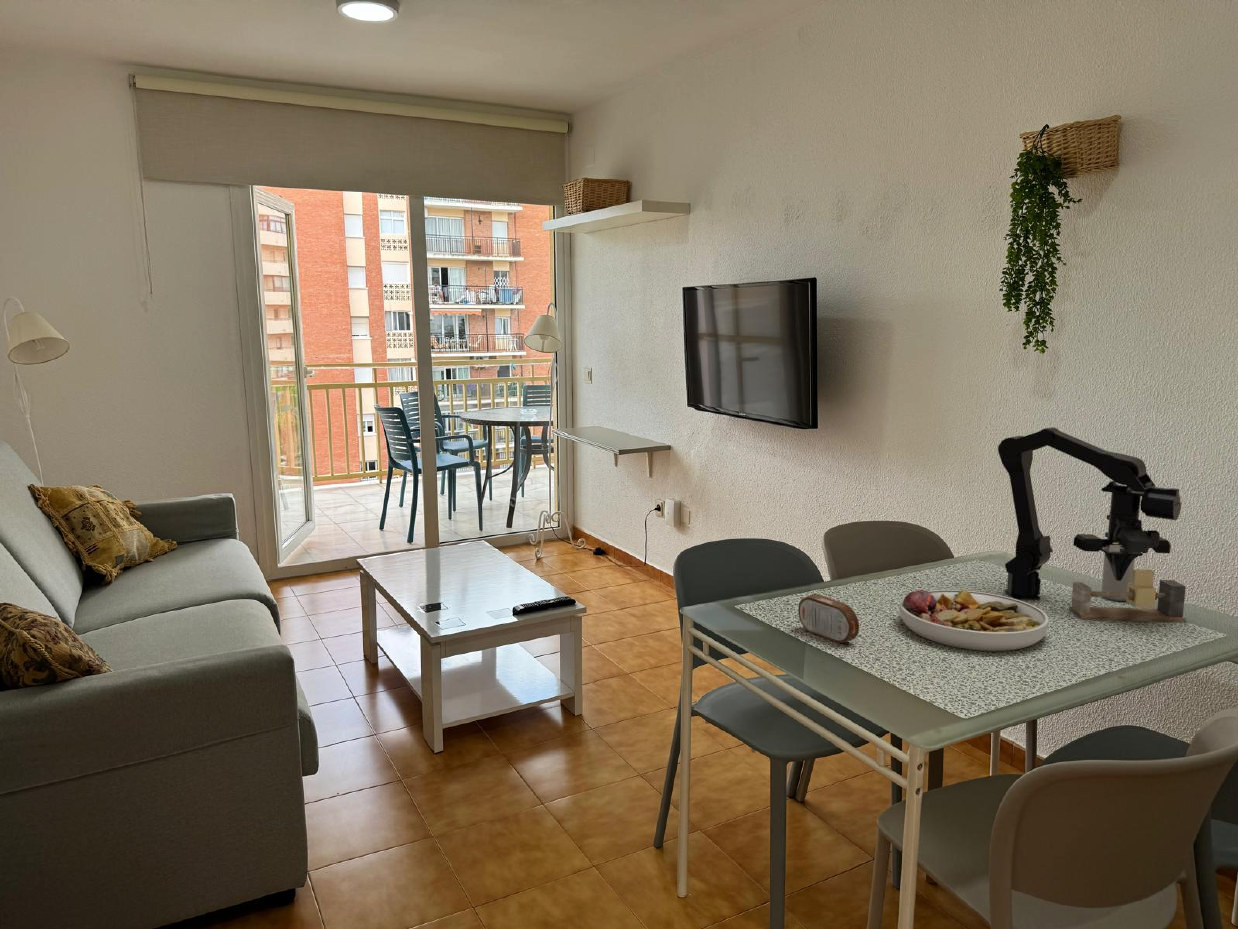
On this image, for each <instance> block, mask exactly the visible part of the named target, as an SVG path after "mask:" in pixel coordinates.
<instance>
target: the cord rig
mask: <svg viewBox="0 0 1238 929" xmlns="http://www.w3.org/2000/svg"><path fill="white" fill-rule="evenodd" d="M1092 589H1093V588H1092V587H1090V586H1089V585H1087V584H1086V583H1084V582H1082V581H1073V582H1072V591H1071V592H1072V593H1071V594H1072V595H1071V606H1069V607H1068V609H1069V611H1070V612H1071V613H1072V614H1074V615H1075V616H1077V618H1080V619H1081V620H1082V621H1083V620H1086V621H1087V620H1089V621H1090V620H1091V621H1117V622H1120V621H1121V622H1123V621H1125V622H1129V621H1130V622H1158V623H1159V622H1161V623H1162V622H1164V623H1185V622H1186V618H1184V608H1185V596H1186V589H1187V587H1186V585H1184V584H1182V583H1180V582H1178V581H1176V580H1174V579H1159V585H1158V592H1157V591H1156V595H1155V601H1156V600H1157V608H1146V607H1106V606H1105V607H1100V606H1097V607H1096V606H1094V607H1093V606H1091V602H1092V600H1091V599H1092V598H1093V597H1096V598H1100V597H1101V598H1105V597H1129V598H1135V592H1102V591H1097V590H1096V591H1093V590H1092Z"/></svg>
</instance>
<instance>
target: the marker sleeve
mask: <svg viewBox="0 0 1238 929" xmlns="http://www.w3.org/2000/svg"><path fill="white" fill-rule="evenodd" d="M1154 577H1155V571H1154V570H1152V569H1143V568H1142V569H1141V568H1140V569H1137V568H1136V569H1135V568H1134V569H1132V578H1131V583H1128V588H1127V592H1135V598H1129V597H1127V599H1126V601H1125V602H1127V603H1128V604H1130V605H1132V606H1133V607H1134V608H1145V609H1155V604H1156V600H1155V595H1156V592H1157V588H1156V587H1154V580H1155V578H1154Z"/></svg>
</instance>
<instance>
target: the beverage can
mask: <svg viewBox="0 0 1238 929" xmlns="http://www.w3.org/2000/svg"><path fill="white" fill-rule="evenodd" d="M1103 555H1104V557H1103V558H1104V559H1103V566H1102V567H1103V570H1102V583H1101V592H1127V588H1128V583H1131V578H1132V569H1135V559H1134V560H1133V561H1132V562H1131V564H1130V565H1129V567H1128V569H1127V570H1126V572H1125V574H1124V576H1123V578H1122V580H1121V581H1117V580H1115V577H1114V575H1113V572H1112V569H1111V566H1110V564H1109V561H1108V559H1107V557H1106V555H1105V553H1104V554H1103ZM1104 598H1105V599H1106V600H1110V601H1114V602H1127V601H1126V599H1127V597H1104Z"/></svg>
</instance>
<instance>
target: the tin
mask: <svg viewBox="0 0 1238 929" xmlns="http://www.w3.org/2000/svg"><path fill="white" fill-rule="evenodd" d="M797 610H798V619H799V621H800V623H801V625H802V627H803V628H805V630H806V631H807V632H809V633H811V634H813V635H816V636H819V637H821V638H823V639H826V640H830V641H832V642H835V643H838V644H845V643H848V642H851V641H854V640H855V639H856V638H857V636H858V634H859V632H860V624H859V619H858V616H857V614H856V612H855V611H854V609H853V608H852V607H851V606H850V605H848V603H845V602H843V601H839V600H836V599H833V598H830V597H827V596H823V595H821V594H818V593H812V594H810V595H808V596H806V597H803V598H802V599H801V600H800V601H799V604H798V609H797Z"/></svg>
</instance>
